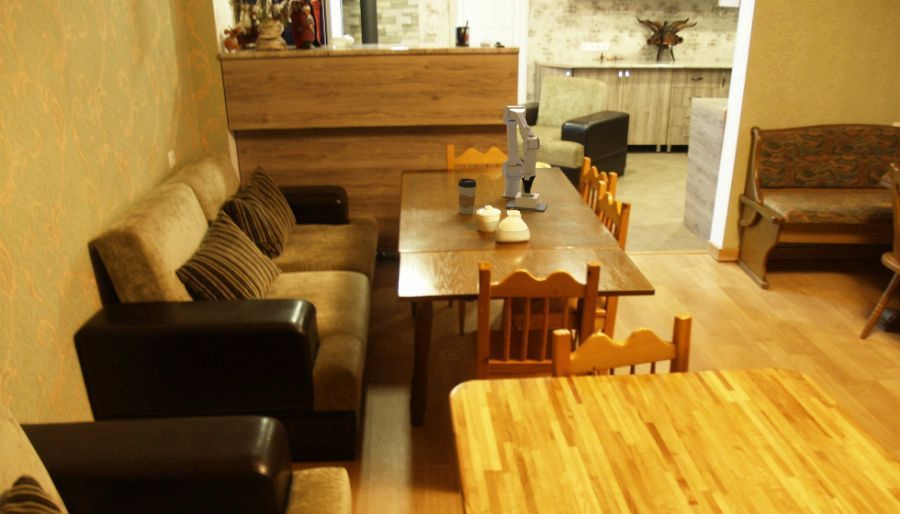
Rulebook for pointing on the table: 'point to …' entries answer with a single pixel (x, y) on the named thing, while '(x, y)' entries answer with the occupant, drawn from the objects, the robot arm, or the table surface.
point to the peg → (524, 192)
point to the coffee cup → (466, 195)
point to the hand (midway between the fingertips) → (527, 191)
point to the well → (527, 203)
